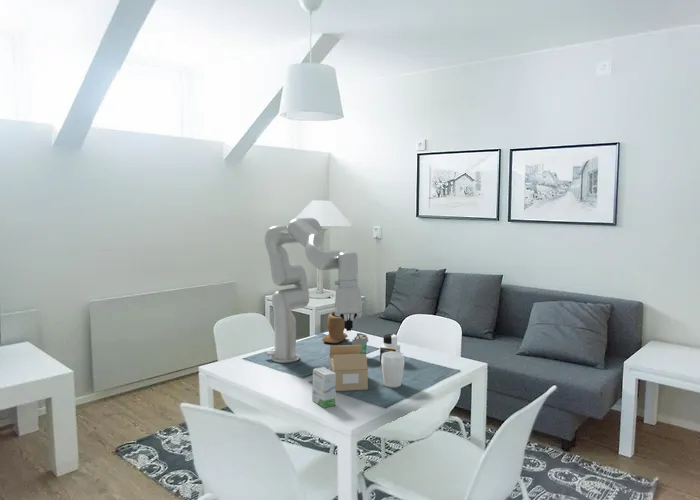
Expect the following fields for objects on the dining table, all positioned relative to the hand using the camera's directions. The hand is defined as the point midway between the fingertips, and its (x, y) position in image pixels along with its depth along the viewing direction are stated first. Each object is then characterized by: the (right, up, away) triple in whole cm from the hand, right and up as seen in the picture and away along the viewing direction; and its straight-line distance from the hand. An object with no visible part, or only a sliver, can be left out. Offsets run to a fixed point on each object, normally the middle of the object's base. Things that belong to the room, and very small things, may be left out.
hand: (348, 330), depth 210 cm
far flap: (-1, -10, +9) cm, 13 cm away
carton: (0, -21, +3) cm, 21 cm away
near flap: (+1, -11, -6) cm, 13 cm away
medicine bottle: (+18, -18, +29) cm, 39 cm away
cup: (+17, -21, 0) cm, 27 cm away
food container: (+6, -18, +33) cm, 38 cm away
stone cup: (-6, -15, +62) cm, 64 cm away
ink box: (-9, -23, -19) cm, 31 cm away
